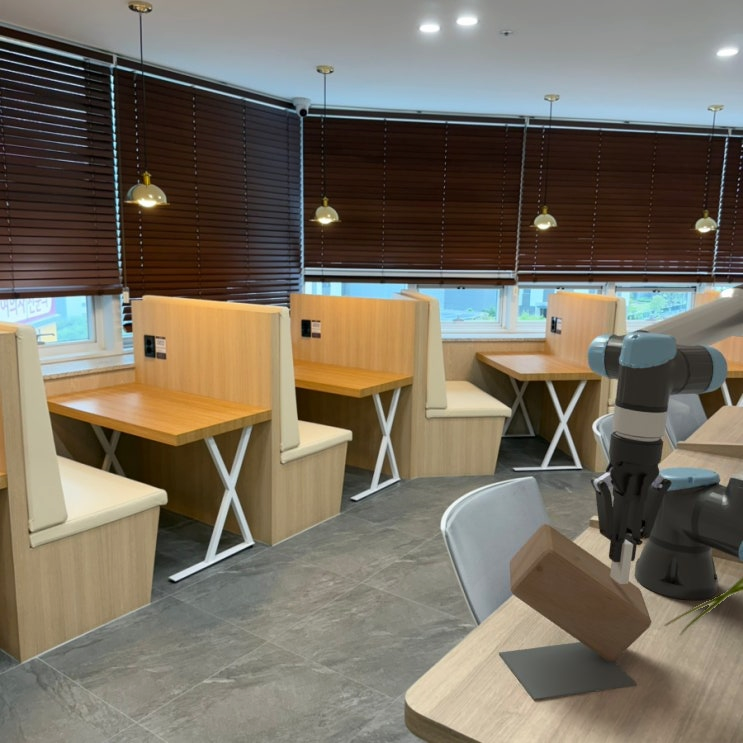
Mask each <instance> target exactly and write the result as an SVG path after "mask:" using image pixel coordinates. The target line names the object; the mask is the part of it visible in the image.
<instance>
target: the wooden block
mask: <svg viewBox="0 0 743 743" xmlns="http://www.w3.org/2000/svg"><path fill="white" fill-rule="evenodd" d="M610 572H611V567H609V565H606V564H605V563H604V562H602V560H600V559H598V558H597V557H595V556H594V555H592V553H590V552H588V551H587V550H585V549H584V548H583V547H581V546H580V545H578V544H577V543H575V542H574V541H572V539H569V537H567V536H566V535H564V533H563V534H562V533H561V532H560V531H558V530H557V529H555V528H554V527H552V526H551V525H550V524H547V523H543V524H542V525H540V527H538V529H537V530H536V531H535V532H534V533H533V534H532V535H531V536H530V538H528V540H526V542H525V543H524V544H523V545H522V546H521V547H520V549H519V550H517V552H516V553H515V554H514V556H512V558H511V559H510V562H509V580H510V592H511V593H512V595H513V596H514V597H515V598H518V599H519V600H520V601H522V602H523V603H525V604H526V605H527V606H529V607H530V608H532V609H533V610H534V611H536V612H537V613H538V614H540V615H542V616H543V617H544V618H546V619H547V620H549V621H550V622H552V623H553V624H554V625H556V626H557V627H559V628H560V629H561V630H563V631H564V632H566V633H568V634H569V635H570V636H571V637H573V638H575V639H576V640H577V641H578V642H581V643H583V644H584V645H586V646H587V647H589V648H590V649H591V650H593V651H594V652H596V653H597V654H599V655H600V656H601V657H603V658H604V659H606V660H607V661H609V662H613V661H614V662H615V661H616V660H617V659H619V657H620V656H621V655H622V654H623V653H624V652H625V651H626V650H628V648H629V647H631V645H633V643H635V641H637V640H638V639H639V638H640V637H641V636H642V635H643V634H644V633H645V632H646V631H647V630H648V629H650V626H651V625H652V619H651V616H650V614H649V611H648V608H647V606H646V605H647V604H646V602H645V598H644V596H643V593H642V591H641V590H640V588H639V587H638V586H636V585H635V584H634V583H633V582H631V581H630V580H629V581H628V584H619V583H618V582H617V581H615V580H614V579H613V578H611V577H610Z"/></svg>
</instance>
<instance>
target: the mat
mask: <svg viewBox="0 0 743 743" xmlns="http://www.w3.org/2000/svg"><path fill="white" fill-rule="evenodd" d="M498 655H499V657H500V658H501V659H502V661H503V663H505V664H506V665H507V668H508V669H509V670H510V671H511V672H512V673H513V675H514V676H515V677H516V679H517V680H518V681H519V683H520V684H521V686H522V687H523V688H524V689H525V691H526V692H527V694H528V695H529V696H530V698H532V701H541V700H548V699H554V698H560V697H567V696H574V695H581V694H586V693H596V692H601V691H607V690H608V691H609V690H613V689H620V688H621V689H622V688H626V687H633V686H637V685H638V683H637V682H636V681H635V680H634V679H633V678H632V677H631V676H630V675H629V674H628V673H627V672H625V670H624V669H623V668H622V667H621V666H620V665H618V663H617V662H615V661H613V662H609V661H607V660H606V659H604V658H603V657H601V656H600V655H599V654H597V653H596V652H594V651H593V650H591V649H590V648H589V647H587V646H586V645H584V644H583V643H581V642H580V641H577V642H570V643H564V644H563V643H562V644H554V645H548V646H546V645H545V646H539V647H531V648H524V649H517V650H509V651H508V650H507V651H500V652H498Z"/></svg>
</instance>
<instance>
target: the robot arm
mask: <svg viewBox="0 0 743 743" xmlns="http://www.w3.org/2000/svg"><path fill="white" fill-rule="evenodd" d="M732 337H737V338H739V337H740V338H741V337H743V283H742V284H739V285H736V286H734V287H730V288H728V289H726V290H723V291H722V292H720V294H718V296H717V297H716V298H715V300H712V301H709V302H707V303H704V304H702V305H699V306H695V307H694V308H691V309H688V310H685V311H683V312H681V313H678V314H675V315H673V316H670V317H668V318H665V319H662V320H660V321H658V322H655V323H652V324H650V325H649V324H648V326H645V327H641V328H639V329H636V330H635V331H631V332H628V333H625V334H622V335H617V334H614V333H611V334H606V333H605V334H599V335H597V336H595V338H594V339H593V340H592V341H591V342H590V344H589V347H588V349H587V352H586V353H587V355H586V357H587V364H588V367H589V369H590V370H591V371H592V373H594V374H596V375H597V376H602V377H604V378H607V379H609V380H617V385H616V396H615V399H614V400H615V401H614V408H613V417H612V423H611V424H612V425H611V427H612V428H611V429H612V430H613V432H612V433H611V434H610V437H609V438H610V440H609V449H608V455H609V463H608V465H607V466H606V469H605V473H604V474H602V475H601V476H599V477H596V476H593V477H592V478H591V479H590V483H591V486H592V487H593V489H594V491H595V499H596V507H597V508H596V509H597V519H598V520H597V521H598V527H599V528H598V530H599V534H600V535H602V536H603V537H604V538H606V539H607V540H609V542H610V544H609V552H608V558H609V560H611V563H610V564H611V565H610V568H611V572H610V577H611V578H613V579H614V580H615V581H617V582H618V583H619V584H628V581H629V582H630V573H631V572H630V571H631V565H632V562H634V561H635V560H636V559H635V558H636V552H637V547H638V546H641V545H642V544H643V542H644V541H643V539H646V541H645V544H644V545H643V548H642V549H641V552H640V554H639V557H638V558H637V560H636V561H635V567H634V578H635V579H636V581H637V582H638V583H639V584H640V585H642V586H643V587H644V588H646V589H649V590H650V591H653V592H654V593H657V594H660V595H662V596H666V597H670V598H674V599H680V600H689V601H694V600H695V601H699V600H705V599H709V598H712V597H713V596H715V595H716V594H717V591H718V584H719V578H718V574H717V570H716V566H715V562H714V558H713V554H712V549H715V551H719V552H721V553H724V554H726V555H728V556H731V557H733V558H736V559H738V560H740V561H741V562H743V470H742V471H740V472H738V473H735V474H733V475H731V476H730V477H729V481H728V483H727V485H726V486H725V485H722V484H720V482H721V478H720V474H719V473H717V472H716V471H714V470H709V469H706V468H700V467H699V468H698V467H697V468H696V467H684V466H683V467H680V466H679V467H668V468H663V469H660V468H659V464H660V463H661V461H662V456H663V455H662V454H663V449H664V441H663V437H664V436H665V434H666V427H667V418H668V408H669V400H670V396H676V395H677V396H679V395H694V394H695V395H701V394H706V393H710V392H711V393H712V392H714V391H716V390H718V389H719V388H721V386H722V385H724V383H725V381H726V379H727V376H728V370H729V369H728V363H727V360H726V358H725V356H724V355H723V353H722V352H721V351H720V350H718V349H717V348H715V347H712V345H715V344H717V343H720V342H722V341H724V340H726V339H729V338H732ZM612 486H613V487H612ZM611 489H612V493H611ZM612 496H613V498H612Z"/></svg>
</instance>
